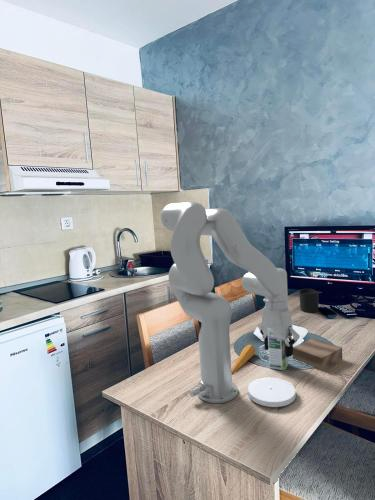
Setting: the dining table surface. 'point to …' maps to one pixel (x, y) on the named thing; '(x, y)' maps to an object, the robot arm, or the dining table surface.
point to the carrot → (244, 357)
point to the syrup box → (276, 352)
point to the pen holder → (309, 300)
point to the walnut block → (318, 354)
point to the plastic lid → (271, 392)
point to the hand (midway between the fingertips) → (278, 352)
